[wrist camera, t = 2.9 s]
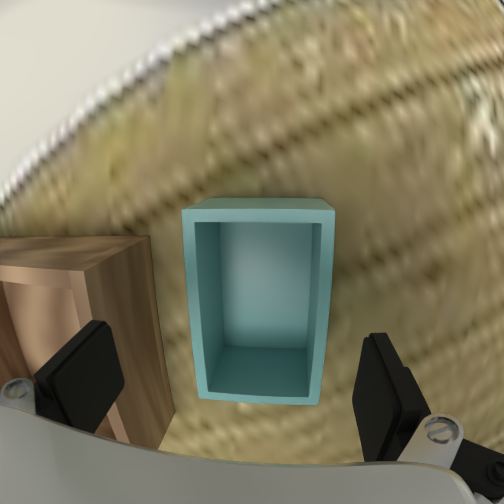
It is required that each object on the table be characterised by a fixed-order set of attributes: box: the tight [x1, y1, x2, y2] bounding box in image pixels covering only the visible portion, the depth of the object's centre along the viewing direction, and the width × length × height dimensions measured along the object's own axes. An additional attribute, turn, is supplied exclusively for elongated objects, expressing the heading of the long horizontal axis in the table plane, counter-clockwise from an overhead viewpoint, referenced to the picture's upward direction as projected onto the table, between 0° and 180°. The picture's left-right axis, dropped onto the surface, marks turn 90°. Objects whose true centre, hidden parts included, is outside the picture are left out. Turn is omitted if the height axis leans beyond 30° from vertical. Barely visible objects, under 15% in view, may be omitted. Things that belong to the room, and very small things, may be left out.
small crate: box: [182, 197, 335, 405], centre depth 18 cm, size 7×11×6 cm, turn 1°
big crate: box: [0, 236, 175, 450], centre depth 20 cm, size 18×16×8 cm
